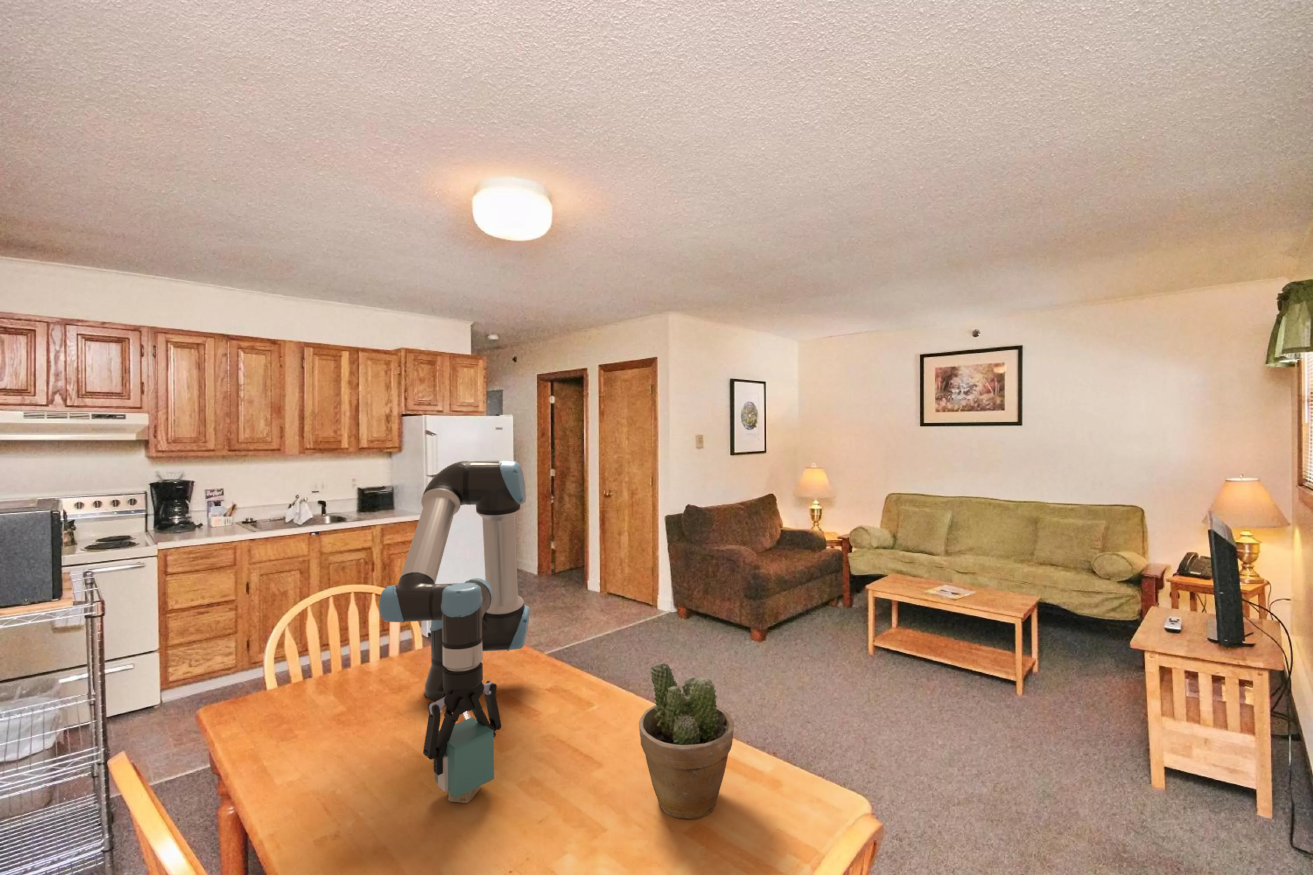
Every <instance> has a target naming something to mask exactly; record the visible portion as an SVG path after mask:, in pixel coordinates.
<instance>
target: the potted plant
mask: <svg viewBox="0 0 1313 875" xmlns="http://www.w3.org/2000/svg"><path fill="white" fill-rule="evenodd" d="M672 670H673V669H672V668H671V667H670V665H669V664H668V663H667V662H664V661H663V662H657V663H655V664H654V665H652V666H651V667H650V672H649V676H650V677H651V683H652V684H653V687H654V688H652V689H653V691H654V696H655V697H654V700H655V704H654V705H652V706H651V707H649V708H648V709H646V710H645V711H644V712H643V714H642V715H641V717H640V720H639V721H638V729H639V737H640V746H641V748H642V751H643V754H644V755H645V760H646V761H645V762H646V765H647V769H648V771H649V772H648V773H649V777H650V781H651V784H652V788H653V791H654V793H655V797H656V799H657V801H658V805H659V807H660V808H661V809H662V811H663V812H664V813H665V814H666V815H668V816H671V817H674V818H678V819H682V820H683V819H684V820H689V819H690V820H696V819H700V818H703V817H705V816H708V815H709V814H711V813H712V812H713V811H714V809H715V807H716V804H717V800H718V796H719V793H720V790H721V787H722V783H723V780H724V779H723V778H724V776H725V774H726V773H725V771H726V767H727V763H728V757H729V753H730V751H731V750H732V747H733V739H734V728H735V721H734V720H733V718H732V717H731V715H730V713H728V711H726V710H725V709H724V708H722V707H720V706H718V705H717V700H716V699H717V698H718V695H716V692H717V690H716V689H715V688H716V686H715V685H714V683H713V680H711V679H710V677H708V678H705V677H704V676H701V677H698V678H697V677H695V676H689V677H687V678H685V679H684V682H683V684H682V686H681V688H682V689H681V688H680V686H678V682H676V680H675V677H674V675H673V671H672Z"/></svg>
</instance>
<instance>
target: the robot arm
mask: <svg viewBox="0 0 1313 875" xmlns="http://www.w3.org/2000/svg"><path fill="white" fill-rule="evenodd" d="M525 481H526V480H525V476H524V473H523V469H522V466H521V464H520V463H519V462H517V461H515V460H503V459H500V460H498V459H497V460H474V461H470V460H469V461H468V460H461V461H458V462H454V463H451V464H450V465H448V466H446V467H444V468H443V469H441V470H440V471H438V473H437V474H436V475H435V476H434V477H433V478H432V479H431V480H430V481H429V483H428V484H427V485H426V487H425V489H424V491H423V494H422V495H421V496H422V497H421V501H420V502H421V503H420V504H421V506H422V510H421V513H420V516H419V519H418V522H417V525H416V527H415V528H416V529H415V531H414V533H413V534H414V535H413V536H412V537H413V538H412V540H411V544H410V545H409V546H410V547H409V549H408V552H407V554H406V555H407V556H406V558H405V561H404V564H403V567H402V571H401V574H400V576H399V580H398V582H397V584H393V585H387V586H385V587H384V589H383V590H382V591H381V593H380V597H379V604H378V608H379V610H378V611H379V614H380V617H381V619H382V620H383V621H385V622H386V623H403V624H404V623H406V622H407V623H410V622H427V621H430V628H429V631H430V656H431V660H430V661H431V664H430V668H429V670H428V671H429V672H428V675H427V677H426V681H425V685H424V695H425V697H427V699H429V700H432V701H429V702H428V703H427V706H426V707H427V712H428V718H427V725H426V731H425V738H424V745H423V750H422V751H423V752H422V754H423V755H424V756H425V757H426V758H427V759H429V760H433V772H434V774H435V773H436V774H437V775H438V783H437V787H438V788H439V789H441V790H442V791H443V792H444V793H446V792H448V757H447V756H446V755H445V751H446V748H447V742H448V741H449V740H450V737H451V734H452V731H453V728H454V725H455V724H456V722H458V721H459V718H460V716H461V715H463V714H465V713H466V712H470V711H471V712H472V713H473V716H474V719H476V720H477V722H478V723H480V724H481V725H483V726H487V727H488V728H490V729H492V730H493V731H494V738H495V737H496V735H497V734H496V732H497V731H500V730H501V729H502V722H501V716H500V711H499V710H500V709H499V705H498V700H497V687H498V686H497V684H496V683H494V682H493V681H491V680H487V681H485V683H483V679H484V675H483V674H484V672H483V671H484V666H483V665H484V664H483V662H482V661H483V659H484V657H483V656H484V655H483V654H484V653H483V652H497V651H498V652H500V651H507V652H510V651H513V650H514V651H515V650H521V649H522V648H523V647H525V645H526V640H527V635H528V629H529V620H530V612H531V611H530V609H531V608H530V606H528V605H525V600H524V598H523V597H521V596H520V595H519V592H518V591H519V588H518V585H519V584H518V563H517V560H518V558H517V532H516V514H518V512H520V510H521V505H522V504H524V503H525V502H526V498H527V493H526V482H525ZM465 505H469V506H471V505H473V506H475V511H476V514H477V515H479V517H481V518H482V532H483V533H482V536H483V558H484V561H483V562H484V575H485V576H484V578H485V580H484V579H482V578H478V577H477V578H471V579H469V580H466V581H464V582H456V583H437V582H436V581H437V579H438V575H439V571H440V568H441V567H440V566H441V563H442V560H443V556H444V552H445V548H446V546H447V545H446V544H447V541H448V537H449V534H450V530H451V527H452V526H451V525H452V523H453V520H454V515H456V514H457V513H459V510H460V509H461V506H465ZM482 694H483V695H484V699H485V705H486V710H487V715H488V717H487V715H486V714H485V712H484V709H483V705H482V704H481V702H480V698H481V697H482ZM433 701H435V702H433ZM444 706H445V710H444V712H443V707H444ZM442 713H443V719H442V720H443V721H442V723H441V714H442ZM440 724H441V725H440ZM439 730H440V731H439ZM438 733H439V734H438Z"/></svg>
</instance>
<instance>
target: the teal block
mask: <svg viewBox="0 0 1313 875" xmlns="http://www.w3.org/2000/svg"><path fill="white" fill-rule="evenodd" d="M439 731H440V729H439ZM438 734H439V733H438ZM494 740H495V737H494V731H493V730H492V729H490V728H488V727H487V726H483V725H481V724H480V723H478V722H477V720H476V718H475V717H469V718H467V719H464V720H462V721H459V722H457V723H456V722H455V725H454V728H453V731H452V734H451V737H450V740H449V741H448V742H447V748H446V751H445V755H446V756H447V757H448V791H447V792H448V794H449V793H450V794H451V795H453V796H454V797H455V798H457V797H459V796H461V795H463V794H465V793H467V792H469V791H471V790H473V789H475V788H477V787H479V786H480V787H481V786H483V785H485V784H487V783H489V782H491V781H493V780H494V779H495V753H494V752H495V751H494V750H495V749H494V748H495V744H494V743H495V742H494ZM434 781H435V782H436V783H437V784H438V775H437V774H436V773H435V772H434Z"/></svg>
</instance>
